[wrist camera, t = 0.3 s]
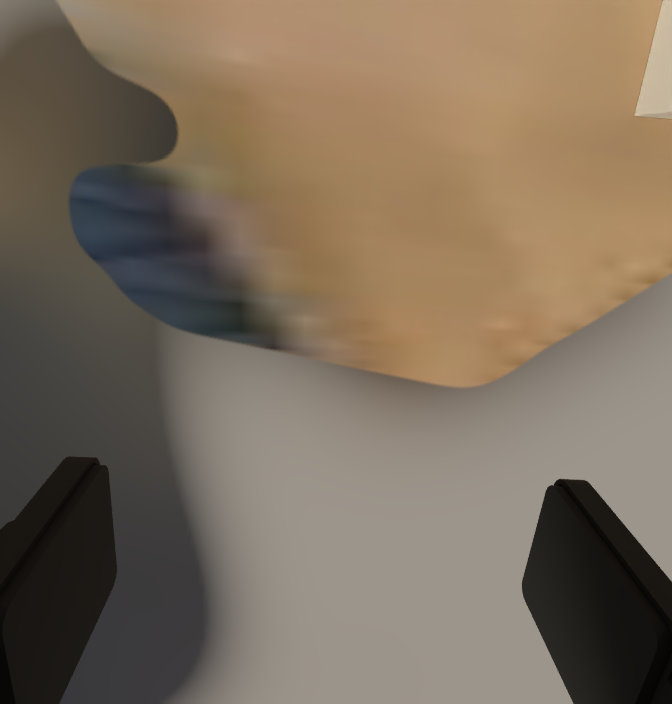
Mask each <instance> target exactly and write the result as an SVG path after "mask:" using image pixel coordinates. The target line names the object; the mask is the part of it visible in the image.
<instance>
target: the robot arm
mask: <svg viewBox="0 0 672 704" xmlns="http://www.w3.org/2000/svg"><path fill="white" fill-rule="evenodd" d="M116 573H117V564H116V552H115V541H114V530H113V519H112V506H111V495H110V484H109V472H108V468H107V466H105V465H100V462H99V460H98V459H97V458H89V457H66V458H65V459H64V460H63V461H62V462H61V464H60V465H59V466H58V467H57V468H56V470H55V471H54V472H53V473H52V475H51V476H50V477H49V478H48V479H47V481H46V482H45V483H44V484H43V485H42V487H41V488H40V490H38V492H37V493H36V494H35V495H34V497H33V498H32V499H31V500H30V501H29V503H28V504H27V505H26V506H25V508H24V509H23V510H22V512H20V514H19V515H18V516H17V518H16V519H15V520H14V521H11V522H9V523H7V524H6V525H5V526H4V527H3V528H2V529H1V530H0V704H59V703H60V701H61V699H62V696H63V694H64V692H65V690H66V688H67V686H68V683H69V681H70V679H71V677H72V675H73V673H74V670H75V668H76V666H77V664H78V662H79V660H80V657H81V655H82V653H83V651H84V649H85V647H86V645H87V642H88V640H89V638H90V636H91V634H92V632H93V629H94V627H95V625H96V623H97V621H98V618H99V616H100V614H101V612H102V610H103V608H104V606H105V603H106V601H107V599H108V597H109V595H110V593H111V591H112V588H113V586H114V583H115V579H116ZM522 592H523V597H524V599H525V602H526V604H527V606H528V608H529V610H530V612H531V614H532V617H533V619H534V621H535V623H536V625H537V627H538V629H539V631H540V633H541V636H542V638H543V640H544V642H545V644H546V646H547V648H548V650H549V652H550V655H551V657H552V659H553V661H554V663H555V665H556V667H557V669H558V671H559V674H560V676H561V678H562V680H563V682H564V684H565V687H566V689H567V690H568V693H569V695H570V697H571V699H572V701H573V703H574V704H672V582H671V580H670V579H669V578H668V577H667V576H666V574H665V573H664V572H663V571H662V570H661V569H660V567H659V566H658V565H657V564H656V562H655V561H654V560H653V559H652V558H651V557H650V555H649V554H648V553H647V552H646V550H645V549H644V548H643V547H642V546H641V544H640V543H639V542H638V541H637V540H636V538H635V537H634V536H633V535H632V534H631V533H630V531H629V530H628V529H627V528H626V526H625V525H624V524H623V523H622V522H621V520H620V519H619V518H618V517H617V516H616V514H615V513H614V512H613V511H612V510H611V508H610V507H609V506H608V505H607V504H606V502H605V501H604V500H603V499H602V498H601V497H600V495H599V494H598V493H597V492H596V491H595V489H594V488H593V487H592V486H591V485H590V483H588V482H587V481H585V480H569V479H559V480H557V481H556V482H555V484H554V486H553V485H551V486H549V487H548V488H547V490H546V493H545V497H544V501H543V504H542V508H541V512H540V516H539V520H538V523H537V527H536V531H535V535H534V539H533V542H532V547H531V550H530V554H529V558H528V562H527V565H526V569H525V573H524V577H523V581H522Z"/></svg>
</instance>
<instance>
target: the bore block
mask: <svg viewBox="0 0 672 704" xmlns="http://www.w3.org/2000/svg"><path fill="white" fill-rule="evenodd" d="M634 116H642V117H655V118H667V119H672V0H663V2H662V6H661V10H660V14H659V18H658V22H657V26H656V30H655V34H654V39H653V43H652V47H651V51H650V55H649V59H648V63H647V67H646V71H645V75H644V79H643V83H642V87H641V91H640V95H639V99H638V103H637V107H636V111H635V115H634Z"/></svg>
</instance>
